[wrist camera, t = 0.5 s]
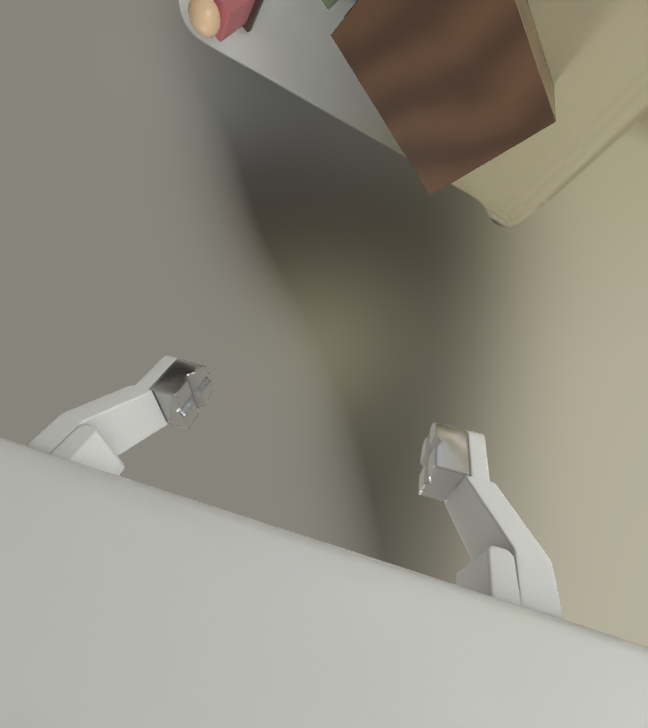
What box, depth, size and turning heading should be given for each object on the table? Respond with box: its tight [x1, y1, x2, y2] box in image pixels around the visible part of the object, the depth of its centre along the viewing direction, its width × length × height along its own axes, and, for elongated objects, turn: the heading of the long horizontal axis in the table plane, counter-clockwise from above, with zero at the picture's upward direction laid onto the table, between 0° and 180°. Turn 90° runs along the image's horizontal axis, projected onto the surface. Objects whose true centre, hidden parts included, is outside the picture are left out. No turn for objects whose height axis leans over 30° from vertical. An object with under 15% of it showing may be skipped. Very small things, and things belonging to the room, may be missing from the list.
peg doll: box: [188, 0, 263, 42], centre depth 36 cm, size 4×5×11 cm
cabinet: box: [331, 0, 556, 195], centre depth 34 cm, size 20×14×9 cm
